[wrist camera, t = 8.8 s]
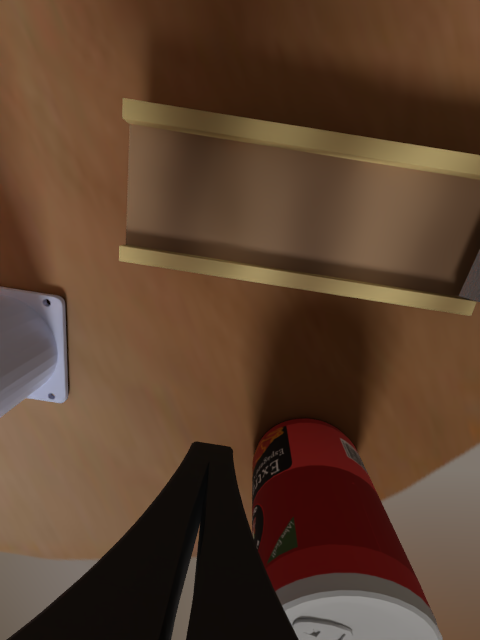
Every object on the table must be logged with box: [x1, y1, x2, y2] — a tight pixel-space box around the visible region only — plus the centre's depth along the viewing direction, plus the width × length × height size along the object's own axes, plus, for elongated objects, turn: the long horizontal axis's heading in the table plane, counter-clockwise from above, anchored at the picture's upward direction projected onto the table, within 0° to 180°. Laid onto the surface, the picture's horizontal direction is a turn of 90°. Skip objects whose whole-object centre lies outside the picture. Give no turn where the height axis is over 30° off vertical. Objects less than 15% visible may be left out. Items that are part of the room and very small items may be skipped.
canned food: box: [252, 418, 442, 640], centre depth 18 cm, size 8×8×11 cm
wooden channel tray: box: [119, 98, 480, 316], centre depth 16 cm, size 18×7×4 cm, turn 81°
